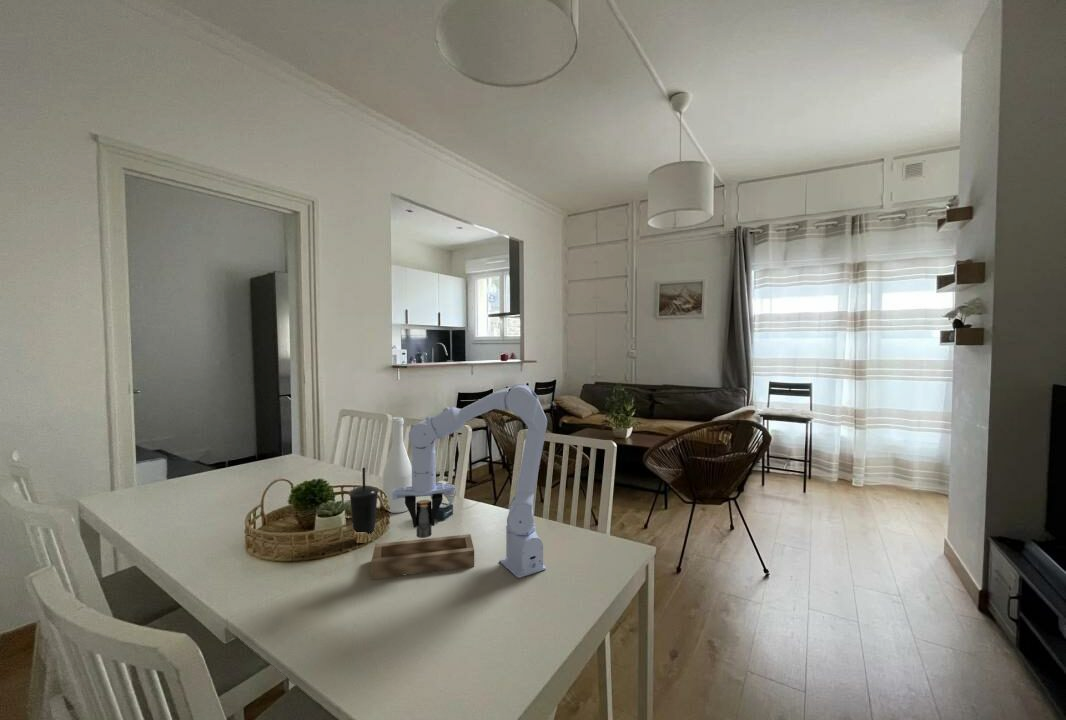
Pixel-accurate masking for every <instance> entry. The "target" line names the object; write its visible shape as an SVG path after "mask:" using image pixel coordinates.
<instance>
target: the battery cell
mask: <svg viewBox="0 0 1066 720" xmlns="http://www.w3.org/2000/svg"><path fill="white" fill-rule="evenodd" d="M431 509H432V500H430V499H423V500H422V499H420V500H418V501H416V522H417V527H416V528H415V529H416V537H417V538H420V539H427V538H429V537H431V536H432V534H433V533H432V529H433V528H432V527H433V526H431V519H432V518H431Z"/></svg>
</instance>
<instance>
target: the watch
mask: <svg viewBox="0 0 1066 720" xmlns="http://www.w3.org/2000/svg"><path fill="white" fill-rule="evenodd" d="M436 485H453V484H452V483H451V482H448V481H447V480H439V481H436ZM443 496H444V497H445V498H446V499H447V501H448V503H444V502H442V503H441V505H440V507H439V509H438V512H437V515H436V518H435V521H440V522H441V521H442V522H444V521H446V520H447V519H448V518H449V517H451V516H453V515H454V504H453V503H454V500H455V498H456V497H455V496H456V489H455V487H454V495H450V494H445V495H443ZM430 499H431V500H432V496H430ZM431 516H432V508H431Z"/></svg>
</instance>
